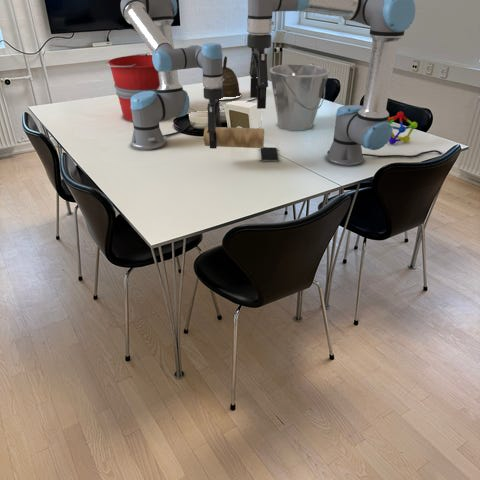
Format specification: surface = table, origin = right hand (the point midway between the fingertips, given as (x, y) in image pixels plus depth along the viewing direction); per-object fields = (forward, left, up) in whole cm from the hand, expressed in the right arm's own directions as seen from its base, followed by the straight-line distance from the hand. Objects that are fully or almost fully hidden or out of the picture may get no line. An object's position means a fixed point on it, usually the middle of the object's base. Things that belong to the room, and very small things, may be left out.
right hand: (257, 102), depth 149 cm
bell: (-67, -120, -32) cm, 141 cm away
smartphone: (-27, -26, -32) cm, 49 cm away
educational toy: (-86, -4, -32) cm, 92 cm away
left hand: (-1, -29, -24) cm, 38 cm away
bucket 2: (-65, -51, -32) cm, 89 cm away
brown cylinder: (-7, -24, -24) cm, 34 cm away
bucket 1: (-7, -112, -32) cm, 116 cm away
